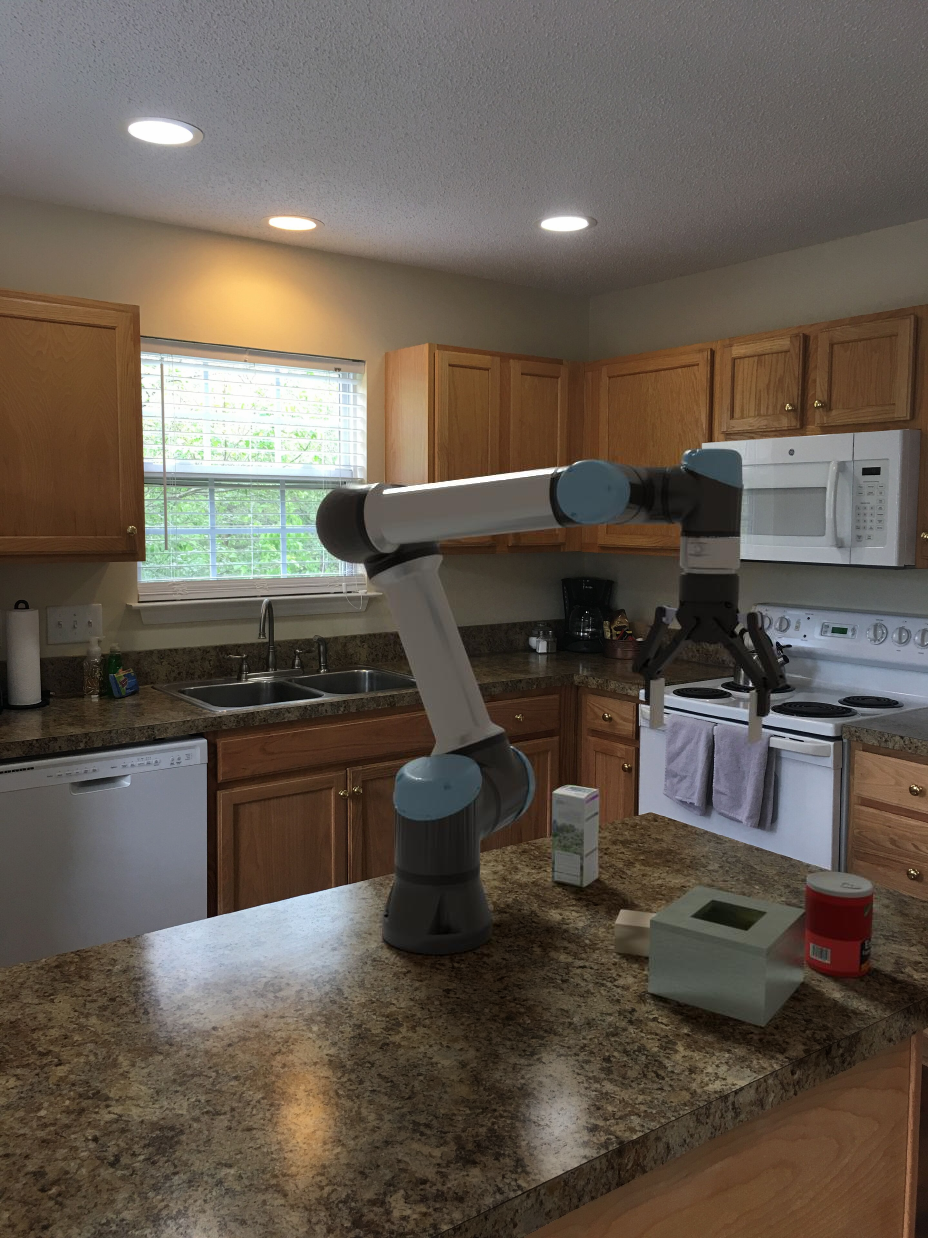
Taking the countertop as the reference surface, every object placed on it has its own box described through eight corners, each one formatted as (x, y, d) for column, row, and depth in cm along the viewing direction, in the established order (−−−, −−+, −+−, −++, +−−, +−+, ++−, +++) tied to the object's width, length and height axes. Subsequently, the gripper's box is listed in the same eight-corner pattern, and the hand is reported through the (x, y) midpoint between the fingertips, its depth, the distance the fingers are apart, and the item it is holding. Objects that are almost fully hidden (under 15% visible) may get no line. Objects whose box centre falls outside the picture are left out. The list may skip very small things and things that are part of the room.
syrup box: (599, 878, 158) (600, 788, 157) (583, 889, 153) (584, 796, 152) (566, 871, 161) (568, 782, 160) (549, 882, 156) (551, 791, 155)
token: (614, 953, 131) (614, 923, 131) (620, 938, 136) (621, 909, 135) (652, 958, 129) (653, 928, 129) (657, 943, 134) (658, 914, 134)
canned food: (875, 982, 123) (879, 895, 122) (807, 975, 124) (810, 889, 123) (863, 955, 130) (867, 873, 129) (799, 950, 132) (802, 869, 131)
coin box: (648, 992, 120) (650, 919, 119) (695, 952, 131) (697, 885, 130) (763, 1027, 111) (766, 949, 111) (803, 981, 123) (805, 910, 122)
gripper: (608, 568, 133) (605, 726, 135) (796, 576, 118) (788, 753, 120) (635, 566, 139) (631, 718, 141) (816, 573, 124) (809, 742, 126)
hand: (703, 734), depth 130 cm, fingers open, 13 cm apart
